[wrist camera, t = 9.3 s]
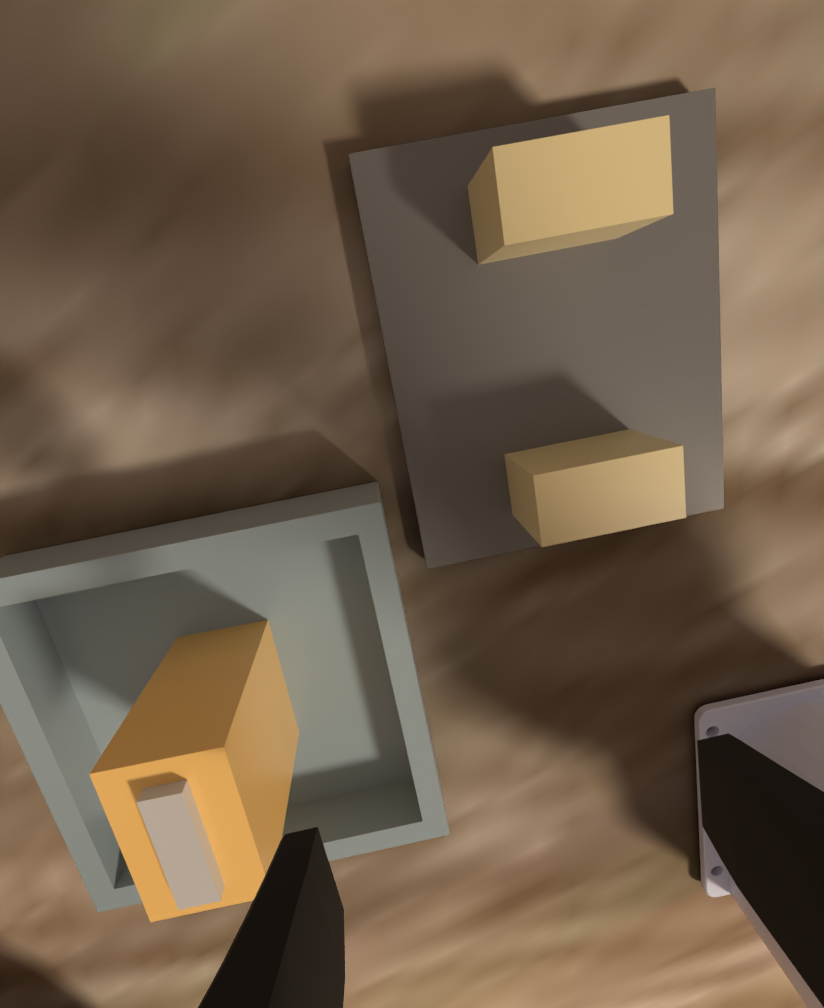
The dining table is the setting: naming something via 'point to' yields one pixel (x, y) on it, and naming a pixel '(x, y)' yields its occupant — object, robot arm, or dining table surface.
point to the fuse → (202, 772)
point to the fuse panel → (552, 323)
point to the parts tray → (211, 606)
